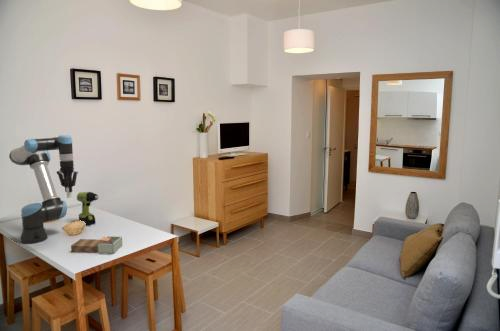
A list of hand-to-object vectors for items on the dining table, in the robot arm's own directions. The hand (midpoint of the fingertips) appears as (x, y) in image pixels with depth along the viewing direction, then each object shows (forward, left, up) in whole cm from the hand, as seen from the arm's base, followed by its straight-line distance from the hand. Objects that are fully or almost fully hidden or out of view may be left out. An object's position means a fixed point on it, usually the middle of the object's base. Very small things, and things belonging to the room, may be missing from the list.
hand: (69, 197), depth 225 cm
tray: (+29, -8, -30) cm, 43 cm away
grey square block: (+29, -9, -26) cm, 40 cm away
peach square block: (+26, -8, -27) cm, 38 cm away
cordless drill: (-6, +36, -31) cm, 48 cm away
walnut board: (+16, -8, -30) cm, 35 cm away
